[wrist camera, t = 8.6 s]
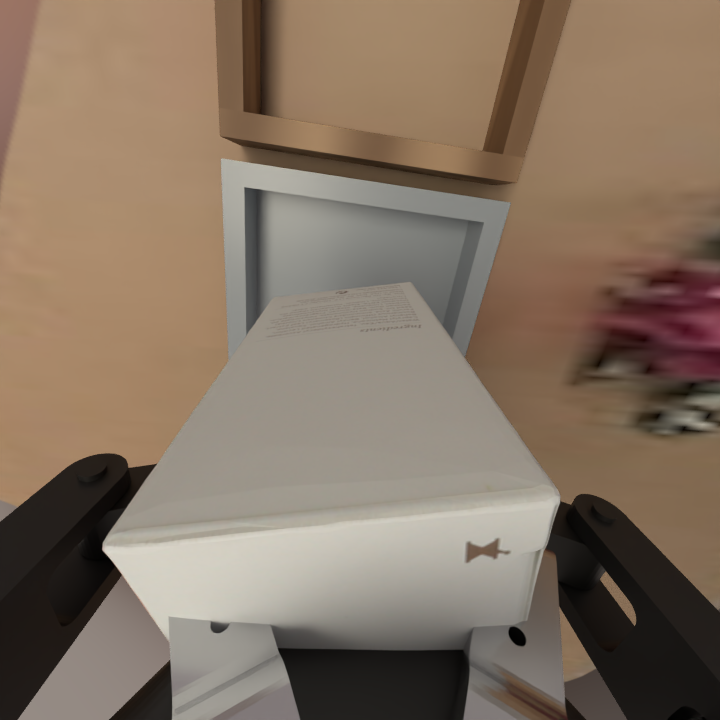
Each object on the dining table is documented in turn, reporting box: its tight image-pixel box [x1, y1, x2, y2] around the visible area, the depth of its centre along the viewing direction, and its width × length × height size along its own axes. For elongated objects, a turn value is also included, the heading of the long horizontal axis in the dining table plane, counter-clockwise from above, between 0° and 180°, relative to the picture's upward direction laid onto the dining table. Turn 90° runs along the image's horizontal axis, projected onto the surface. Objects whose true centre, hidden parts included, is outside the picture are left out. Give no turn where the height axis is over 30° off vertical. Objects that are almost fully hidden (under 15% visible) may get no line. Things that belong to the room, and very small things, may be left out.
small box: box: [102, 282, 560, 650], centre depth 10 cm, size 8×6×10 cm
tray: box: [221, 158, 511, 360], centre depth 23 cm, size 16×16×4 cm
